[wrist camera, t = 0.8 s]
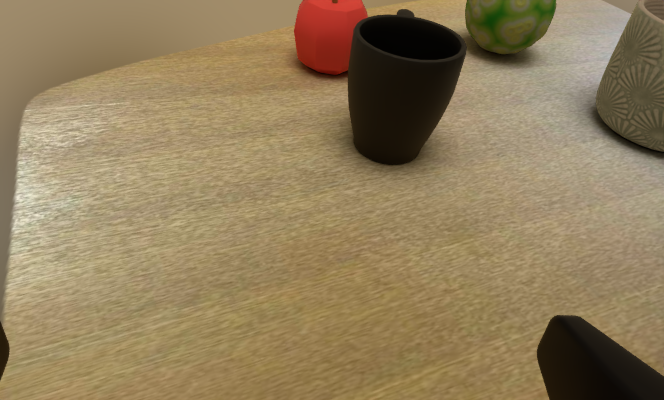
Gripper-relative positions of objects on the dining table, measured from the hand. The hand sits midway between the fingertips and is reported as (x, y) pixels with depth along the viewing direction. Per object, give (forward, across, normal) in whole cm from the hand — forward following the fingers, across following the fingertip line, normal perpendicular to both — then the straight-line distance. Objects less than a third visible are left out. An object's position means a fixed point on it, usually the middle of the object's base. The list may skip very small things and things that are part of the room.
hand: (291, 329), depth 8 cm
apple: (+45, -5, +9) cm, 46 cm away
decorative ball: (+52, -26, +8) cm, 58 cm away
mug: (+32, -9, +11) cm, 36 cm away
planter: (+36, -36, +10) cm, 52 cm away
